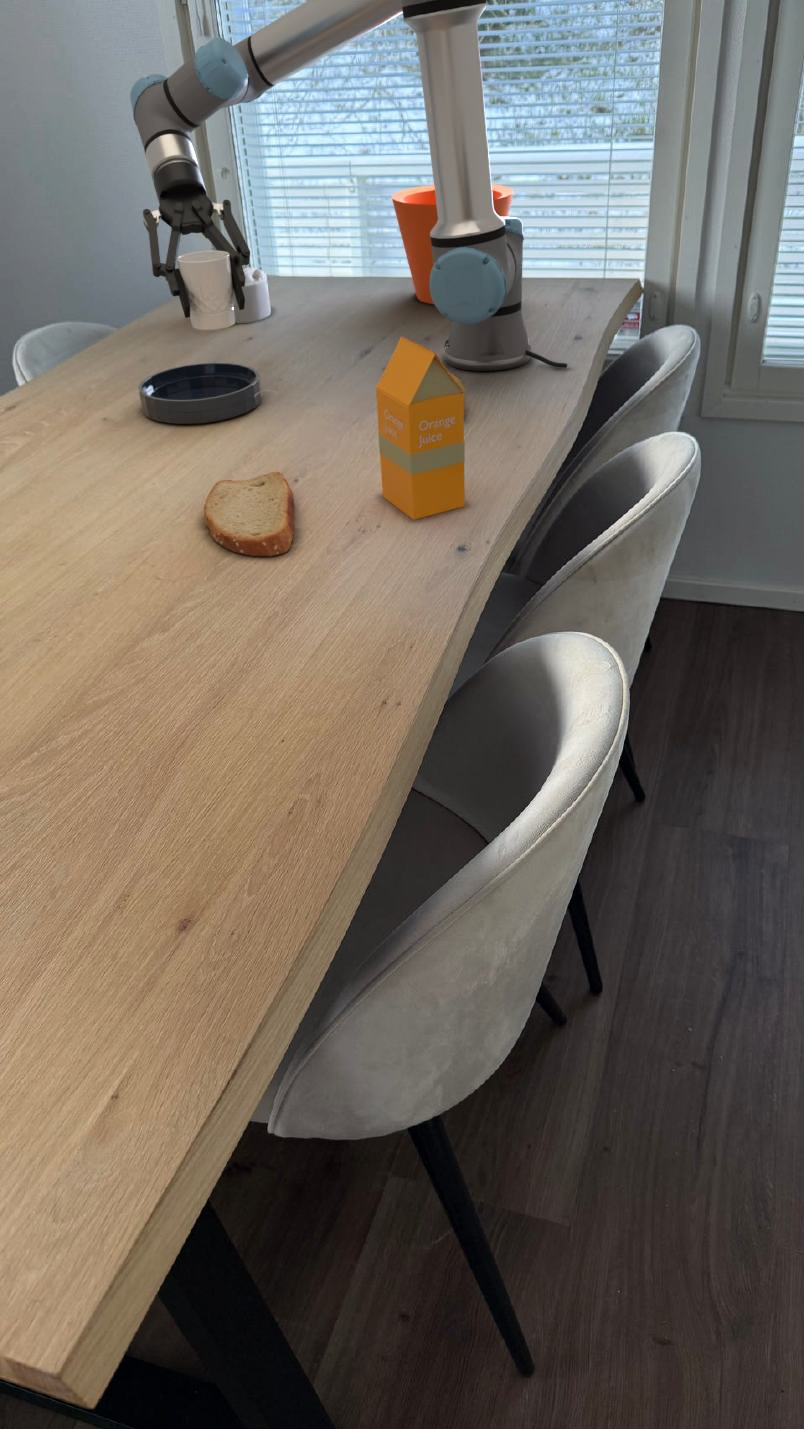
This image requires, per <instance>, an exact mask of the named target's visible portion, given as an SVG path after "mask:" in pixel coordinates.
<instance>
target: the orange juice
mask: <svg viewBox="0 0 804 1429" xmlns="http://www.w3.org/2000/svg"><path fill="white" fill-rule="evenodd" d="M450 374H451V373H450V371H449V370H448V369H447V368H446V366H445V365H444V364H443V362H442V361H441V359H440V358H439V356H438V355H437V354H436V351H433V350H431V349H429V348H426V347H425V346H422V345H420V344H419V343H416V342H415V341H412V340H411V339H408V338H406V337H404V336H402V335H400V338H399V341H398V342H397V346H396V347H395V349H394V352H393V353H392V355H391V357H390V359H389V361H388V363H387V364H386V368H385V369H384V371H383V374H382V375H381V377H380V380H379V381H378V383H377V385H375V392H376V409H377V427H378V428H377V429H378V448H379V457H380V458H379V459H380V474H381V491H382V497H383V498H384V499H385V500H387V501H388V502H390V504H392V505H393V506H395V507H396V508H397V509H398V510H400V511H401V512H402V513H403V514H405V515H407V517H409V518H410V519H411V520H414V521H415V520H418V519H419V520H420V519H422V518H426V517H429V516H435V515H438V514H441V513H445V512H449V511H452V510H456V509H459V508H463V507H465V506H466V503H465V502H466V499H465V497H466V493H465V491H466V490H465V489H466V487H465V462H466V461H465V460H466V459H465V458H466V457H465V456H466V455H465V454H466V453H465V451H466V449H465V446H466V445H465V405H464V393H463V392H462V390H461V389H460V387H459V386H458V385H457V383H456V382H455V380H454V379H453V378H452V376H451V375H450Z"/></svg>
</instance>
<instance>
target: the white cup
mask: <svg viewBox="0 0 804 1429" xmlns="http://www.w3.org/2000/svg"><path fill="white" fill-rule="evenodd" d="M176 263H177V267H178V268H179V270H180V273H181V277H182V280H183V284H184V287H185V291H186V294H187V297H188V301H189V304H190V317H189V318H190V323H191V327H192V328H193V329H195V330H199V331H217V330H222V329H226V328H229V327H231V326H233V325H235V324H236V323H235V314H234V307H233V306H234V298H233V284H232V275H231V265H230V255H229V253H228V252H225V251H218V250H216V249H215V250H212V249H211V250H200V251H193V252H188V253H184V254H181V255H179V256H177V260H176Z"/></svg>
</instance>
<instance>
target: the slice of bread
mask: <svg viewBox="0 0 804 1429" xmlns="http://www.w3.org/2000/svg"><path fill="white" fill-rule="evenodd" d="M203 512H204V514H203V515H204V524H205V526H206V527H207V528H208V530H209V535H210V536H211V537H212V539H213V540H214V541H215V542H216V543H218V544H219V545H220V546H222V547H223V548H224V549H226V550H229V551H231V552H234V553H237V554H240V555H246V556H252V557H274V556H278V555H282V554H285V553H287V552H288V551H289V550H290V548H291V547H292V544H291V543H292V541H293V538H294V535H295V532H294V531H295V500H294V492H293V490H292V488H291V487H290V485H289V482H288V480H286V478H285V476H284V474H282V473H281V472H280V471H278V470H275V471H272V472H271V471H270V472H269V473H266V474H261V475H259V476H255V477H254V478H250V479H245V480H232V479H223V480H222V479H221V480H219V481H217V482H216V483H215V484H214V485H213V487H211V490H210V491H209V493H208V494H207V496H206V499H205V503H204V506H203Z"/></svg>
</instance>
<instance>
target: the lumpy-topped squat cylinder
mask: <svg viewBox="0 0 804 1429" xmlns="http://www.w3.org/2000/svg"><path fill="white" fill-rule="evenodd" d="M242 268H243V271H244V275H245V287H242V290H243V293H244V297H245V306H244V309H243V310H239V307H238V304H237V300H236V297H235V293H234V290H233V298H234V306H233V307H234V314H235V324H249V323H254V322H258V321H262V320H264V319H266V318H268V317H269V316H270V315H271V313H272V309H271V300H270V293H269V285H268V277H267V273H266V272H265V271H264V270H262V269H256V268H254V267H250V266H245V267H242Z"/></svg>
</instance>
